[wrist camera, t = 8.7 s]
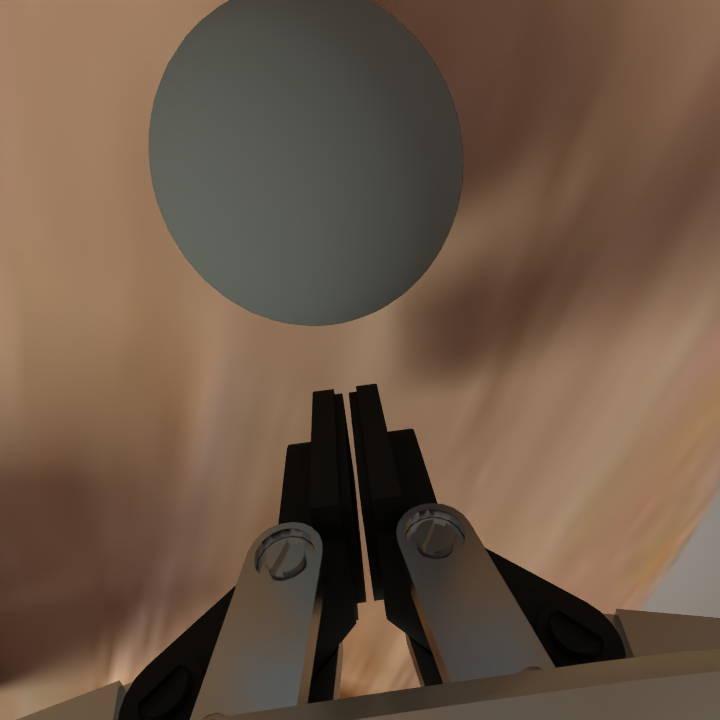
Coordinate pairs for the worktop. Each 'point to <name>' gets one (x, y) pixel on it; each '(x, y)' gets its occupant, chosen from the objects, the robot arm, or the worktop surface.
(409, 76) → the grey-green ball
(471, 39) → the worktop surface
